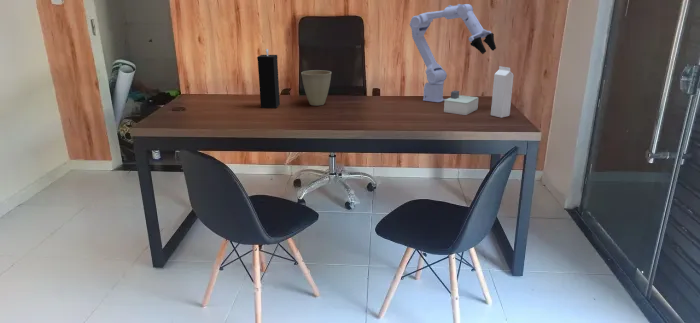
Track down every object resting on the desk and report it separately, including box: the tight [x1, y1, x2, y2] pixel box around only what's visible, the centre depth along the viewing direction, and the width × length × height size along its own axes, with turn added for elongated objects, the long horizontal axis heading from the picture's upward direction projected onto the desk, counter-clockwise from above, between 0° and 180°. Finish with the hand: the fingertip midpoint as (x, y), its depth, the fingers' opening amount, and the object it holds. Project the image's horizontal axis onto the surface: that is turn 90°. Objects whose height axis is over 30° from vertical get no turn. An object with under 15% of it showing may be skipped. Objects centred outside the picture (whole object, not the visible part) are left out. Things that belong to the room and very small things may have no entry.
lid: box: [444, 90, 479, 104], centre depth 231 cm, size 11×14×4 cm
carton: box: [443, 98, 479, 116], centre depth 232 cm, size 11×14×5 cm
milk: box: [490, 65, 514, 119], centre depth 220 cm, size 6×6×22 cm
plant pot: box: [301, 69, 332, 106], centre depth 245 cm, size 15×15×16 cm
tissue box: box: [256, 48, 281, 109], centre depth 239 cm, size 8×8×28 cm
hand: (489, 51), depth 227 cm, fingers open, 7 cm apart
